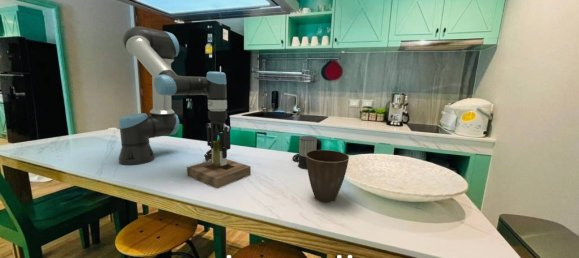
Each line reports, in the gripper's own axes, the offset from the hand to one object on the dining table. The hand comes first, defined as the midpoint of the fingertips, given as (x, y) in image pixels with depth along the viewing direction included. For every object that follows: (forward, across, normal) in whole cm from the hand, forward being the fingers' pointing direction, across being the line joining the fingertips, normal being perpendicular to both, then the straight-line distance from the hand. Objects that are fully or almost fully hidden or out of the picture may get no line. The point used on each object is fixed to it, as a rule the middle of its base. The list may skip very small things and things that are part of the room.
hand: (219, 163), depth 100 cm
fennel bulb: (+1, 0, 0) cm, 1 cm away
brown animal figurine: (+6, -17, +12) cm, 22 cm away
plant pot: (+6, +46, +10) cm, 47 cm away
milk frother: (+6, +20, +37) cm, 43 cm away
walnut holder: (+5, 0, 0) cm, 5 cm away
